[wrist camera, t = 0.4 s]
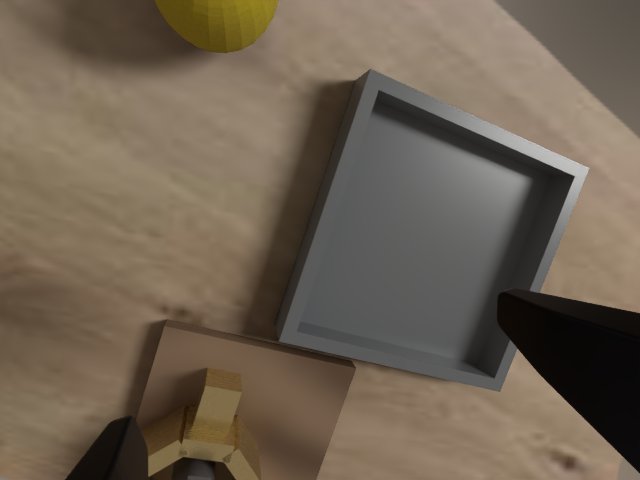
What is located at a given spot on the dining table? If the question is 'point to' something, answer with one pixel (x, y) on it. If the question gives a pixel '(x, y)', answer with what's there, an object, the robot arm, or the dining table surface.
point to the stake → (250, 398)
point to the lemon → (218, 21)
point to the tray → (424, 236)
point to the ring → (206, 430)
